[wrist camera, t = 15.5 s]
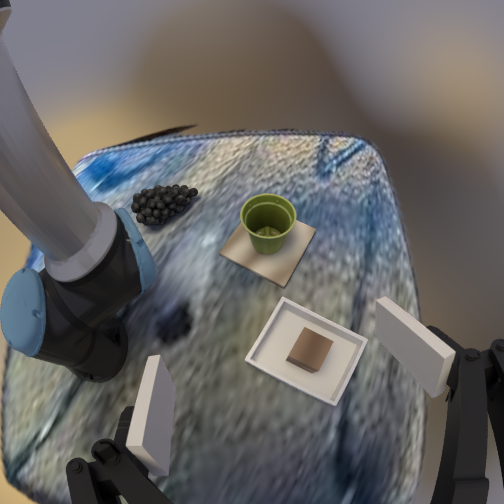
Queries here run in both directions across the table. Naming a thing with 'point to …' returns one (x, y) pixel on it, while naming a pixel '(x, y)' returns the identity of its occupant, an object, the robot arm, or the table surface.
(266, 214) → the plant pot
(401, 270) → the table surface
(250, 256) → the ash board
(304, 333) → the walnut block
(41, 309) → the robot arm
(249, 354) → the grey tray
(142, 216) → the fruit
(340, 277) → the table surface
